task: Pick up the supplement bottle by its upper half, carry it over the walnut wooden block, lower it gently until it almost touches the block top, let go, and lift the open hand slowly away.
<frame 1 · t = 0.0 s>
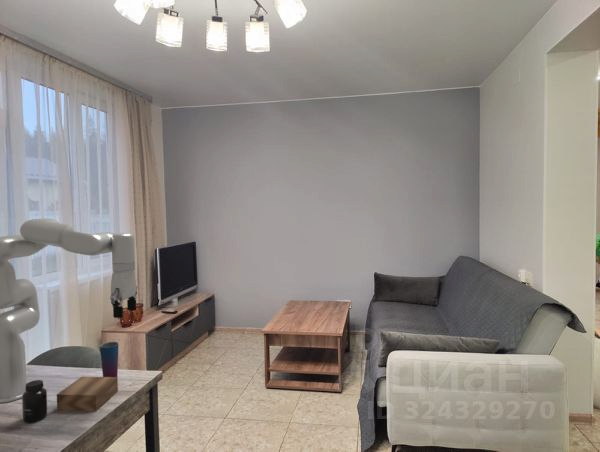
hand: (125, 313, 140), 31 cm above the table, tool pointing down, fingers open, 9 cm apart
cup: (110, 381, 155), on the table
supplement bottle: (35, 418, 128), on the table
walnut block: (89, 401, 139), on the table
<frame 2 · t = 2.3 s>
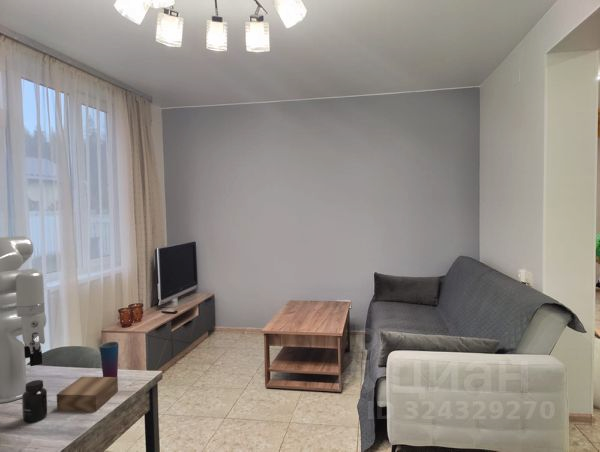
hand: (33, 360, 127), 20 cm above the table, tool pointing down, fingers open, 9 cm apart
nothing on the table moved.
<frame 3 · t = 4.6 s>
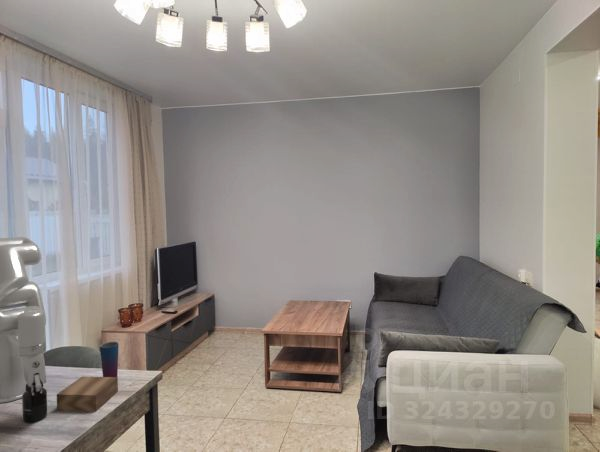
hand: (34, 401, 128), 6 cm above the table, tool pointing down, fingers closed on supplement bottle, 6 cm apart
supplement bottle: (35, 418, 128), on the table, touching gripper
everything else where it was.
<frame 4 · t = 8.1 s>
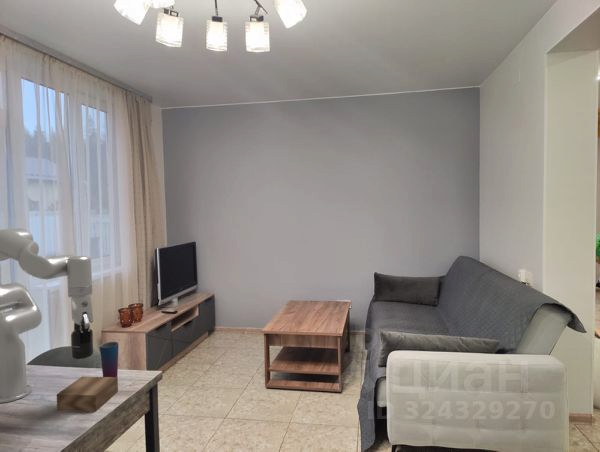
hand: (82, 340, 137), 23 cm above the table, tool pointing down, fingers closed on supplement bottle, 6 cm apart
supplement bottle: (82, 356, 138), point 17 cm above the table, touching gripper
everything else where it was.
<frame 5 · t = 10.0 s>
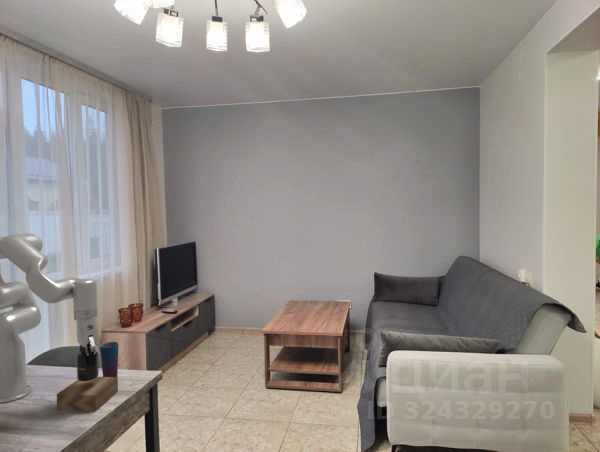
hand: (87, 362, 139), 14 cm above the table, tool pointing down, fingers closed on supplement bottle, 6 cm apart
supplement bottle: (88, 378, 139), point 8 cm above the table, touching gripper
everything else where it was.
when the fingers open (12 cm above the table, at t = 11.8 s): supplement bottle stays where it is, point 5 cm above the table.
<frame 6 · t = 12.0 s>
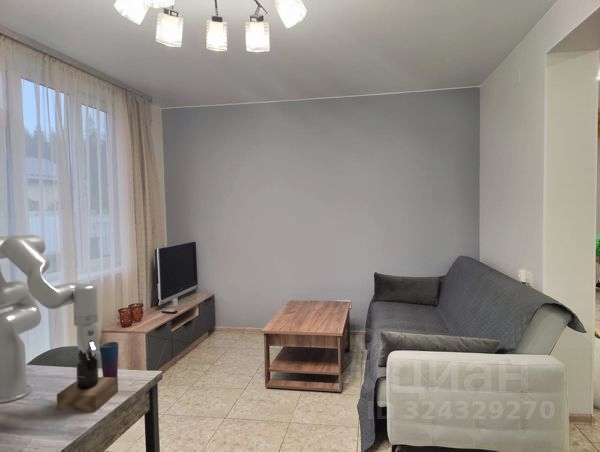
hand: (87, 366, 139), 13 cm above the table, tool pointing down, fingers open, 9 cm apart
supplement bottle: (87, 385, 139), point 5 cm above the table
everything else where it was.
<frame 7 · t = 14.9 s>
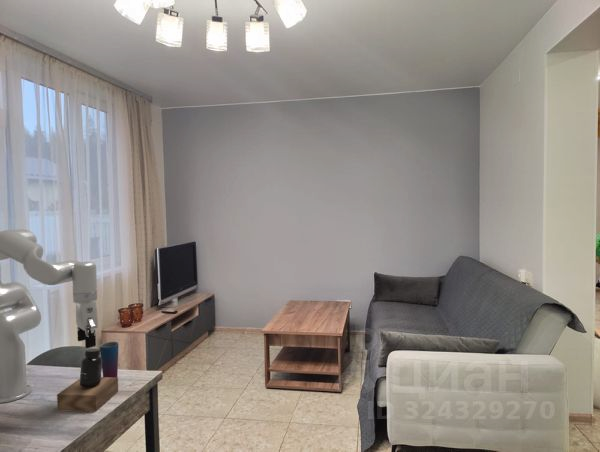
hand: (86, 343, 138), 21 cm above the table, tool pointing down, fingers open, 9 cm apart
supplement bottle: (90, 384, 140), point 6 cm above the table, touching walnut block
walnut block: (89, 401, 140), on the table, touching supplement bottle
everything else where it was.
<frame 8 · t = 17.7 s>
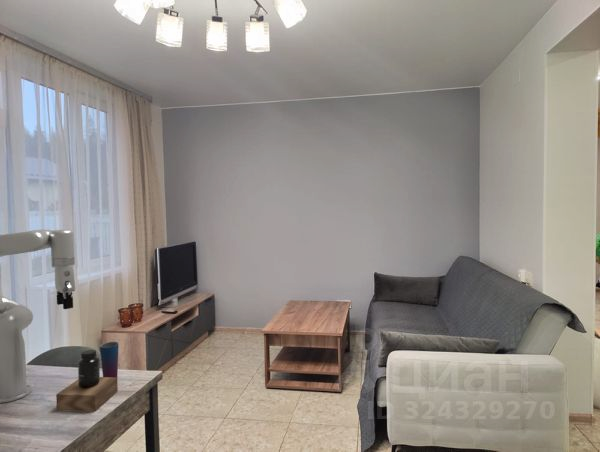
hand: (64, 306, 148), 32 cm above the table, tool pointing down, fingers open, 9 cm apart
at the end: supplement bottle inside the target area on the walnut block (0.8 cm from its centre), point 6.1 cm above the walnut block's base; supplement bottle tilted 5°; supplement bottle touching nothing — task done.
